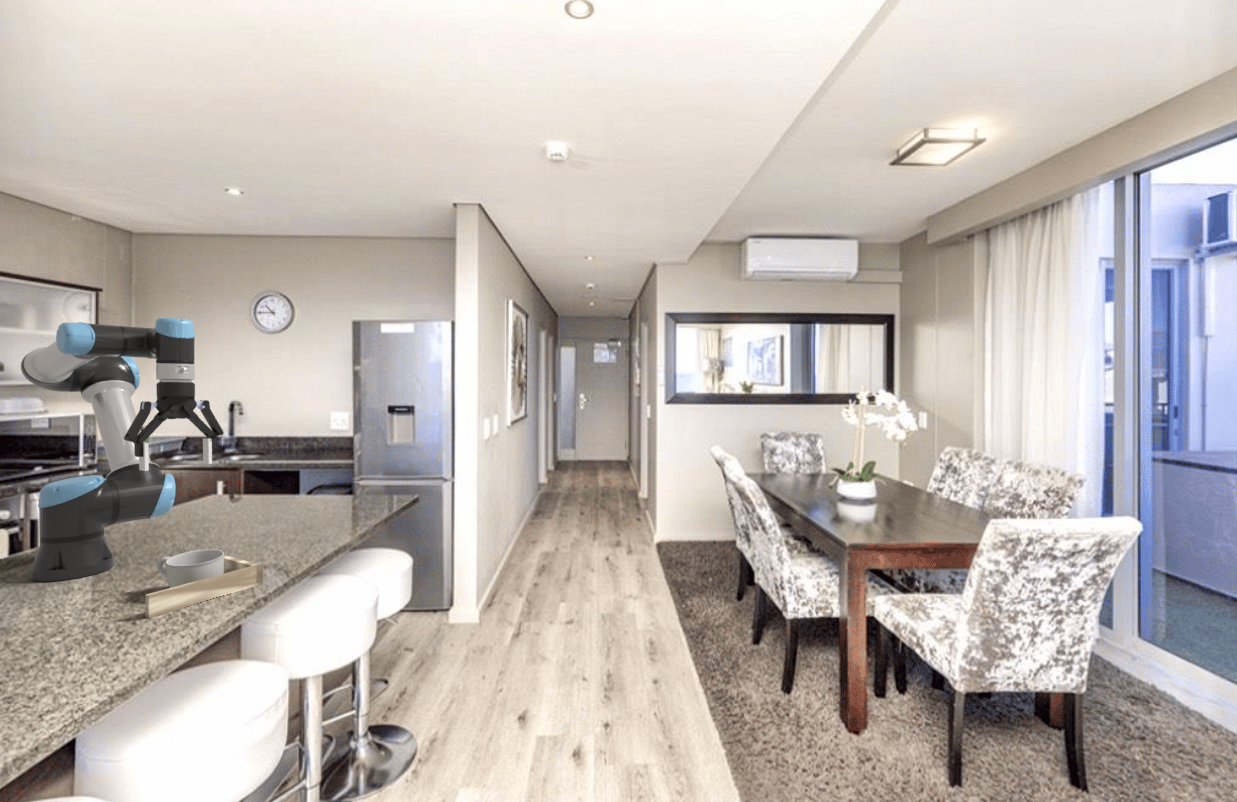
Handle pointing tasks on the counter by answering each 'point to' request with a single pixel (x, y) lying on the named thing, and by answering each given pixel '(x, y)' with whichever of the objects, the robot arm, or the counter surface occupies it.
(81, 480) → the robot arm
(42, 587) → the counter surface
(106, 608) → the counter surface
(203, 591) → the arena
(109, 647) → the counter surface
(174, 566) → the teacup
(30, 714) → the counter surface
